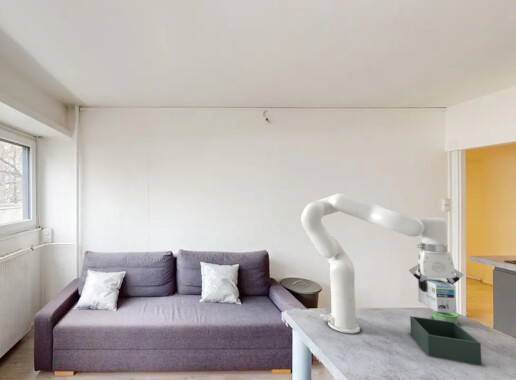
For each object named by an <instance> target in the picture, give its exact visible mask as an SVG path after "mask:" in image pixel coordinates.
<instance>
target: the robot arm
mask: <svg viewBox="0 0 516 380" xmlns="http://www.w3.org/2000/svg"><path fill="white" fill-rule="evenodd" d="M337 212H340V213H342V214H346V215H348V216H350V217H353V218H357V219H359V220H362V221H364V222H368V223H370V224H372V225H376V226H379V227H382V228H385V229H387V230H391V231H393V232H397V233H399V234H402V235H404V236H407V237H413V238H414V237H415V238H416V237H419V236H420V244H416V248H418V249H419V252H418V255H417V265H414V266H413V267H411V268H409V269H408V271H409V272H410V274H411V275H412V276H413V277H415V278H416V280H417V281H418V280H419V288H420V289H421V290H422V291H423V292H425V291H426V283H425V282H424V280H425V278H426V277H436V278H438V279H445V280H446V282H447V283H450V284H453V285H456V283H458V282H459V280H460V279H462V278H463V276H464V274H463V272H460V271H459V270H458V269H456V268H455V265H454V260H453V256H452V253H451V252H449V251H448V233H447V231H448V229H447V220H446V219H445V218H443V217H435V216H426V217H421V216H420V217H419V216H418V217H417V216H409V215H406V214H403V213H399V212H398V211H394V210H392V209H388V208H386V207H383V206H381V205H379V204H377V203H374V202H372V201H368V200H366V199H362V198H359V197H356V196H352V195H349V194H347V193H343V192H337V193H335V194H332V195H330V196H326V197H323V198H321V199H318V200H314V201H312V202H309V203H308V204H307V205H306V206H305V207H304V209H303V211H302V212H301V215H300V216H301V218H300V221H301V226H302V228H303V230H304V232H305V233H306V235H307V237H308V238H309V239H310V241H311V243H312V244H313V246H314V247H315V249H316V251H317V253H319V255H320V256H322V257H323V258H325V259H326V261H327V262H328V264H329V280H330V308H331V309H330V310H331V312H329V314H324V313H320V316H319V317H320V319H323V321H325V322H327V324H328V326H329V327H330V328H331V329H333V330H334V331H336V332H337V331H338V332H340V333H343V334H357V333H359V332H360V331H361V326H360V325H359V324H358V323H356V320H357V319H356V293H355V292H356V291H355V290H356V289H355V288H356V287H355V277H356V276H355V267H354V264H353V261H352V259H351V258H350V256H349V255H348V254H347V252H346V251H345V250H344V247H343V246H342V245H341V244H340V242H339V241H338V239H337V238H336V237H334V236H331V234H330V233H329V232H328V231H327V229H326V227H325V226H324V224H323V223H322V218H323V217H325V216H329V215H332V214H334V213H337ZM417 272H418V273H419V274H417Z"/></svg>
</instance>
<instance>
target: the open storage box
mask: <svg viewBox="0 0 516 380" xmlns="http://www.w3.org/2000/svg"><path fill="white" fill-rule="evenodd" d="M409 321H410V324H409V325H410V335H411V336H412V338H413V339H414V340H415V342H416V343H418V345H419V346H420V347H421V348H422V350H423V351H424V352H425V353H426V354H427V356H428V357H433V358H438V359H443V360H444V359H445V360H450V361H455V362H461V363H467V364H473V365H479V366H482V343H481V342H479V340H477V339H476V338H475V337H474V336H472V335H471V334H470V333H469V332H467V330H465V329H464V328H463V327H462V326H460V325H459V324H458V323H457V324H456V323H455V322H450V321H443V320H435V319H434V318H427V317H419V316H412V315H411V316H409Z"/></svg>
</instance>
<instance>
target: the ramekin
mask: <svg viewBox="0 0 516 380" xmlns="http://www.w3.org/2000/svg"><path fill="white" fill-rule="evenodd" d="M431 311H432V316H433V318H432V319H435V320H443V321H450V322H455V323H456V324H458V321H459V317H460V315H459V314H458V312H457V313H446V312H436V311H435V310H433V309H431Z"/></svg>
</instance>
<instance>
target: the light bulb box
mask: <svg viewBox="0 0 516 380" xmlns="http://www.w3.org/2000/svg"><path fill="white" fill-rule="evenodd" d="M424 282H425V283H426V291H425V292H423V291H422V290H421V289H420V288H419V280H418V279H417V292H418V293H417V295H418V302H419V303H421V304H423V305H424V306H426V307H428V308H430V309H431V310H432V309H433V310H435V311H436V312H446V313H457V314H458V312H457V311H458V310H457V292H456V290H457V289H456V284H454V285H453V284H450V283H447V281H445V280H442V279H441V278H436V277H426V278H425V280H424Z"/></svg>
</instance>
